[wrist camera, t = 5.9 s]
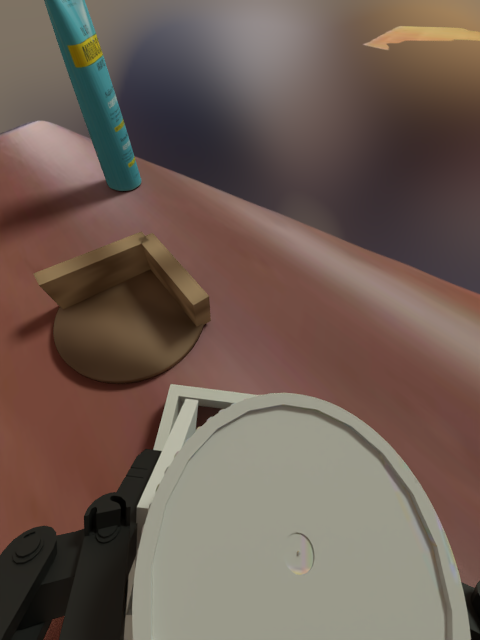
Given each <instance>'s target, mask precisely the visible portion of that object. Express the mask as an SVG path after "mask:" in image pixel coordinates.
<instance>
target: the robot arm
mask: <svg viewBox="0 0 480 640" xmlns="http://www.w3.org/2000/svg"><path fill="white" fill-rule="evenodd" d="M197 410H198V400H193V399H185V402H184V404H183V406H182V408H181V410H180V413H179V415H178V417H177V419H176V421H175V424H174V426H173V428H172V430H171V433H170V435H169V437H168V439H167V441H166V444H165V446H164V448H163V450H162V451H158V450H150V449H145V450H144V451H143V452H142V453H141V454H140V455H138V456H137V457H136V459H135V461H134V463H133V464H132V466H131V469H130V470H129V471H128V473H127V475H126V477H125V478H124V480H123V482H122V484H121V485H120V487H119V489H118V491H117V492H114V493H109V494H106V495H103V496H101V497H100V498H98V499H97V500H95V501H94V502H93V503H92V504H91V505H90V506H89V508H88V509H87V511H86V513H85V515H84V529H82V530H79V531H76V532H71V533H67V534H62V535H58V536H56V532H55V531H54V529H53V528H52V527H48V526H40V527H35V528H32V529H30V530H28V531H26V532H24V533H22V534H21V535H20V536H18V537H17V538H15V539H14V540H13V541H12V542H11V543H10V544H9V545H8V546H7V547H6V549H5V550H4V551H3V552H2V554H1V555H0V640H43V639H44V637H45V634H46V632H47V630H48V628H49V626H50V624H51V621H52V619H55V618H58V617H61V616H65V617H64V621H63V625H62V629H61V633H60V637H59V640H124V630H125V618H126V605H127V593H128V577H129V573H130V570H131V568H132V565H133V562H134V560H135V568H136V561H137V557H136V555H137V550H138V548H139V545H140V540H141V536H142V533H141V531H142V528H143V525H144V524H145V521H146V518H147V515H148V508H149V505H150V504H151V503H152V501H153V498H154V496H155V494H156V488H157V486H158V484H160V483H161V481H162V479H163V477H164V472H165V470H166V468H167V467H169V466H170V464H171V463H172V461H173V460H174V455H175V454H176V452H178V451H180V450H181V448H182V447H183V446H184V443H185V441H186V440H187V438H190V437H191V436H192V435H193V434H194V433H195V431H196V420H197ZM461 583H462V582H461ZM462 587H463V592H464V596H465V601H466V607H467V612H468V619H469V626H470V635H471V640H480V581H479V582H478V583H477V585H476V587H475V588H473V587H471V586H468V585H466V584H464V583H462Z"/></svg>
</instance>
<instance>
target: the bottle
mask: <svg viewBox="0 0 480 640" xmlns="http://www.w3.org/2000/svg"><path fill="white" fill-rule="evenodd" d="M141 533H142V536H141V540H140V545H139V548H138V550H137V555H136V557H137V561H136V568H135V574H134V579H133V584H134V586H133V602H132V629H133V640H471V635H470V626H469V619H468V612H467V607H466V601H465V596H464V592H463V587H462V583H461V579H460V576H459V572H458V569H457V565H456V562H455V559H454V556H453V553H452V550H451V547H450V544H449V542H448V539H447V536H446V534H445V532H444V529H443V527H442V525H441V522H440V520H439V518H438V516H437V514H436V512H435V510H434V508H433V506H432V504H431V502H430V500H429V498H428V497H427V495H426V493H425V492H424V490H423V488H422V487H421V485H420V483H419V482H418V480H417V479H416V477H415V476H414V474H413V473H412V472H411V470H410V469H409V468H408V466H407V465H406V464H405V462H404V461H403V460H402V459H401V457H400V456H399V455H398V454H397V453H396V451H395V450H394V449H393V448H392V447H391V446H390V445H389V444H388V443H387V442H386V441H385V440H384V439H383V438H382V437H381V436H380V435H379V434H378V433H377V432H375V431H374V430H373V429H372V428H371V427H369V426H368V425H367V424H366V423H364V422H363V421H362V420H360V419H359V418H357V417H356V416H354V415H352V414H351V413H349V412H348V411H346V410H344V409H342V408H340V407H338V406H336V405H334V404H331V403H329V402H326V401H324V400H321V399H318V398H314V397H310V396H306V395H300V394H291V393H275V394H274V393H269V394H266V395H256V397H252V398H246V399H244V400H243V401H240V402H238V403H233V404H231V406H230V407H228V408H226V409H222V410H220V411H219V413H218V414H216V415H215V416H213V417H210V418H209V419H207V422H206V423H205V424H204V425H202V426H201V427H198V428H197V429H196V431H195V433H194V434H193V435H192V436H191V437H190V438H187V440H186V441H185V443H184V446H183V447H182V448H181V450H180V451H178V452H176V454H175V455H174V460H173V461H172V463H171V464H170V466H169V467H167V468H166V470H165V472H164V477H163V479H162V481H161V483H160V484H158V486H157V488H156V494H155V496H154V498H153V501H152V503H151V504H150V505H149V508H148V515H147V518H146V521H145V524H144V525H143V528H142V531H141Z"/></svg>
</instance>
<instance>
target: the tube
mask: <svg viewBox="0 0 480 640" xmlns="http://www.w3.org/2000/svg"><path fill="white" fill-rule="evenodd" d="M44 1H45V4H46V7H47V10H48V14H49V17H50V20H51V23H52V26H53V29H54V32H55V35H56V39H57V42H58V45H59V47H60V50H61V53H62V56H63V59H64V62H65V65H66V68H67V71H68V74H69V77H70V80H71V83H72V85H73V88H74V91H75V94H76V96H77V100H78V103H79V105H80V108H81V111H82V114H83V117H84V120H85V122H86V125H87V128H88V131H89V134H90V137H91V140H92V142H93V145H94V148H95V151H96V154H97V157H98V159H99V162H100V165H101V168H102V170H103V173H104V176H105V179H106V181H107V184H108V186H109V187H110V188H112V189H114V190H118V191H129V190H133V189H135V188H136V187H138V186H139V185H140V184H141V177H140V174H139V171H138V167H137V164H136V160H135V157H134V154H133V151H132V147H131V144H130V141H129V137H128V134H127V131H126V127H125V124H124V121H123V118H122V115H121V112H120V108H119V105H118V102H117V98H116V95H115V92H114V89H113V86H112V82H111V80H110V76H109V73H108V70H107V67H106V63H105V60H104V57H103V54H102V51H101V48H100V45H99V41H98V38H97V35H96V32H95V29H94V26H93V24H92V21H91V18H90V15H89V12H88V9H87V6H86V4H85V0H44Z"/></svg>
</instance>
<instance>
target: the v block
mask: <svg viewBox="0 0 480 640" xmlns="http://www.w3.org/2000/svg"><path fill="white" fill-rule="evenodd" d="M34 276H35V278H36V280H37V282H38V284H39V286H40V287H41V288H42V289H43V290H44V291H45V292H46V293H47V294H48V295H49V296H50V297H51V298H52V299H53V300H54V301H55V302H56V303H57V304H58V305H59V306H60V307H59V309H58V312H57V314H56V317H55V322H54V330H53V335H54V342H55V345H56V348H57V350H58V352H59V354H60V356H61V357H62V358H63V360H64V361H65V362H66V363H67V364H68V365H69V366H70V367H72V368H73V369H74V370H76V371H77V372H79V373H80V374H82V375H84V376H86V377H88V378H90V379H93V380H96V381H99V382H104V383H113V384H124V383H133V382H138V381H143V380H146V379H149V378H152V377H154V376H157V375H159V374H161V373H163V372H165V371H167V370H168V369H170V368H172V367H173V366H174V365H176V364H177V363H179V362H180V361H181V360H182V359H183V358H184V357H185V356H186V355H187V354H188V353H189V352H190V351H191V349H192V348H193V347H194V345H195V344H196V342H197V341H198V339H199V337H200V334H201V332H202V329H203V326H204V324H206V323H208V322H209V321H211V320H210V304H209V296H208V295H207V294H206V292H205V291H204V290H203V289H202V288H201V287H200V286H199V285H198V283H197V282H196V281H195V280H194V279H193V278H192V277H191V276H190V275H189V273H188V272H187V271H186V270H185V269H184V268H183V267H182V266H181V264H180V263H179V262H178V261H177V260H176V259H175V258H174V257H173V255H172V254H171V253H170V252H169V251H168V250H167V249H166V248H165V247H164V245H163V244H162V243H161V242H160V241H159V240H158V239H157V238H156V236H155V235H154V234H153V233H152V234H149V235H147V236H145V235H144V234H143V233H142V232H139V233H137V234H134V235H132V236H129V237H126V238H124V239H121V240H119V241H116V242H114V243H111V244H109V245H106V246H103V247H101V248H98V249H96V250H93V251H91V252H88V253H85V254H83V255H80V256H78V257H75V258H73V259H70V260H67V261H65V262H62V263H60V264H57V265H55V266H52V267H50V268H47V269H44V270H42V271H39V272H37V273H34Z"/></svg>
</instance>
